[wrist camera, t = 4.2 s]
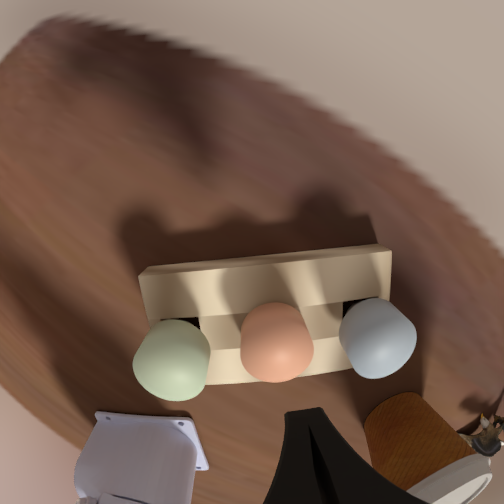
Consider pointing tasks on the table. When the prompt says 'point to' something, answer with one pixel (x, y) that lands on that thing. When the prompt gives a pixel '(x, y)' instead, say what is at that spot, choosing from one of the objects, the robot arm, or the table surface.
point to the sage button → (173, 360)
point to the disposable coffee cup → (424, 452)
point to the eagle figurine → (486, 437)
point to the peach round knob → (275, 343)
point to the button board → (268, 299)
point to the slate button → (376, 337)
